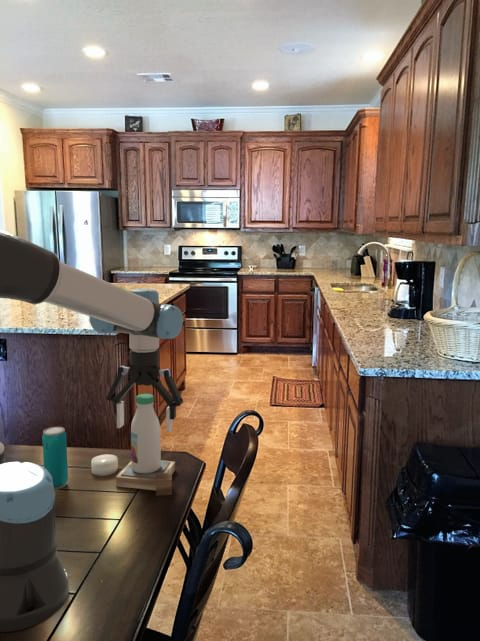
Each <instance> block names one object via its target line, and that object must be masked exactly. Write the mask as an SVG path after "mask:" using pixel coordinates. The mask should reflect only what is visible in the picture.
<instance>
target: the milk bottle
mask: <svg viewBox="0 0 480 641" xmlns="http://www.w3.org/2000/svg"><path fill="white" fill-rule="evenodd" d="M154 401H155V397H154V395H153V394H151V393H142V394H138V395H136V396H135V403H136V404H135V405H136V410H135V413H134V416H133V417H132V421H131V424H130V425H131V426H130V457H131V458H130V459H131V461H130V462H131V465H132V470H133V471H134V472H136V473H141V474H147V473H152V472H155V471H157V470H158V469H159V468H160V466H161V458H162V457H161V456H162V454H161V453H162V451H161V449H162V448H161V425H160V421H159V418H158V416H157V414H156V412H155V408H154V404H155V402H154Z"/></svg>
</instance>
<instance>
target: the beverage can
mask: <svg viewBox="0 0 480 641" xmlns="http://www.w3.org/2000/svg"><path fill="white" fill-rule="evenodd" d="M41 437H42V439H41V441H42V443H41V444H42V457H43V458H42V459H43V460H42V461H43V467H44V468H45V469H46V470H47V471H48V472H49V473H50V475H51V477H52V480H53V486H54V491H55V490H60V489H63V488H64V487H66V485H67V484H68V480H69V467H68V465H69V464H68V448H67V446H68V444H67V441H68V440H67V432H66V430H65V428H64V427H62V426H51V427H47V428H45V429H44V430H43V433H42V436H41Z"/></svg>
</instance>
